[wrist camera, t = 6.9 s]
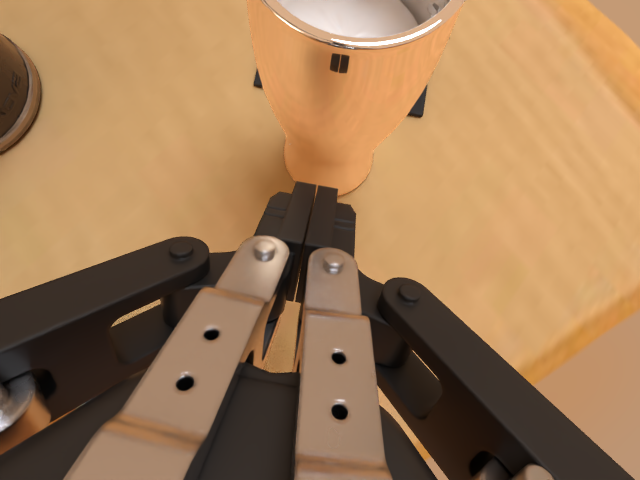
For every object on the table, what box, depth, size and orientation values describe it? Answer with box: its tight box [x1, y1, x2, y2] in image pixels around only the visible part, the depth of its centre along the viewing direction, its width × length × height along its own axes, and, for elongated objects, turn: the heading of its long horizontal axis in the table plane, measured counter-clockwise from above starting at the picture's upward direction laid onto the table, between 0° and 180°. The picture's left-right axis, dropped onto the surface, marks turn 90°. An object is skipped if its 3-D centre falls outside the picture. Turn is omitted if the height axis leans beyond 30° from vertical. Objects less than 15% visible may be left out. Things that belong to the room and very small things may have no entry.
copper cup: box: [247, 0, 465, 196], centre depth 17 cm, size 7×7×15 cm
